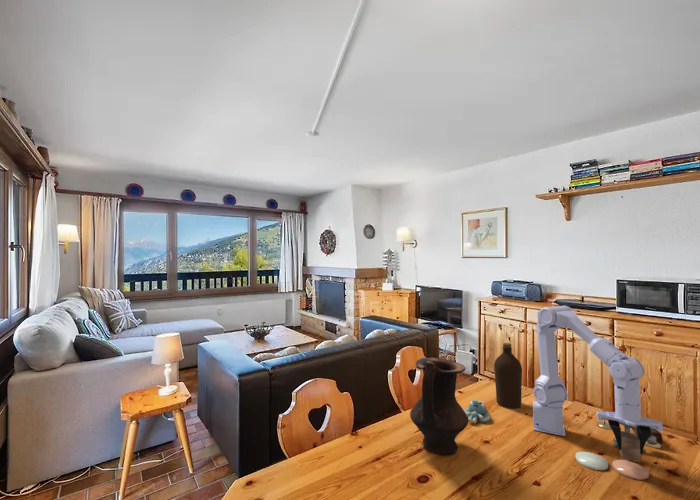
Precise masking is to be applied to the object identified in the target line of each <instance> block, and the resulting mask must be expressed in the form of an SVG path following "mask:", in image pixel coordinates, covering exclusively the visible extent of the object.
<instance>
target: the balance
mask: <svg viewBox="0 0 700 500" xmlns="http://www.w3.org/2000/svg"><path fill="white" fill-rule="evenodd" d="M595 424H596V426H597V427H598V428H600V429H603V430H608V431H612V429H611V427H610V425H609V423H608V422H607V421H606V420H603V421H596V423H595ZM619 424H620V426H623V427H624V429H623V430H624V432H630V433H631V430H632V429H635V430H637V427H636V426H632V425H627V424H624V423H619ZM612 442H613V445H614V448H615V449H616V448H617V449H618V447H617V442H616V438H615V439H614V438H613V439H612ZM645 446H646V447H649V448H653V449H660V448H661V447H662V444H661V445H660V443H658V442H656V437H654V436H652V433H651V436H650V437H649V438H648V440H647V441H646V443H645ZM644 453H645V452H644V450H643V454H644Z"/></svg>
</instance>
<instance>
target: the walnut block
mask: <svg viewBox="0 0 700 500" xmlns="http://www.w3.org/2000/svg"><path fill="white" fill-rule="evenodd" d="M619 453H620V456H621V458H622V460H627V461H631V462H638V463H641V461H642V460H641V454H640V440H639V438H638V436H637V434H635V433H634V432H631V431H630V432H624V431H623V430H621V450H620V449H619Z"/></svg>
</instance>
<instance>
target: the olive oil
mask: <svg viewBox="0 0 700 500" xmlns="http://www.w3.org/2000/svg"><path fill="white" fill-rule="evenodd" d="M493 370H494V371H493V372H494V381H495V382H494V383H495V396H496V397H495V398H496V403H498V404H499V406H500V405H501V407H502V406H503V408H505V407H506V409H511V408H512V409H519V408H521V407H522V381H523V380H522V379H523V368H522V364H521V362H520V360H519V359H518V358H517V357H516V356H515V354H513V349H512V344H511V343H509V342H503V343H502V353H501V354H500V355H498V357H497V358H496V359H495V360H494V363H493ZM498 404H497V405H498ZM512 409H511V410H512Z"/></svg>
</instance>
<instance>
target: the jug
mask: <svg viewBox="0 0 700 500" xmlns="http://www.w3.org/2000/svg"><path fill="white" fill-rule="evenodd" d="M415 367H416V368H417V369H419V370H422V374H423V375H422V382H421V383H422V384H421V397H420V399H418V401H417V402H415V404H414V405H413V406H412V408H411V409H410V412H409V417H410V419H411V421H412V423H413V424H414V425H415V426H416V428H417V429H418V430H419V431H420V432H421V434H422V436H423V438H422V446H423V447H424V449H425V450H426V451H427V452H430V453H431V454H434V455H437V456H441V457H444V456H446V457H448V456H453V455H455V454H456V453H457V452H458V450H459V447H458V446H459V445H458V444H457V442H456V438H457V436H458V435H459V434H460V433H461V432H462V431H464V430H465V429H466V428H467V427H468V425H469V423H470V422H469V420H468V417H467V415H466V413H465V411H464V410H463V409H464V408H463V407H462V405H460V403H459V402H458V400H457V398H456V388H457V387H456V386H457V379H458V378H457V377H458V374H463V373H464V372H465V371H466V367H465V365H463V364H461V363H460V362H456V361H454V360H452V359H451V360H450V359H446V358H438V357H423V358H419V359H418V360H416V361H415ZM447 455H448V456H447Z"/></svg>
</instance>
